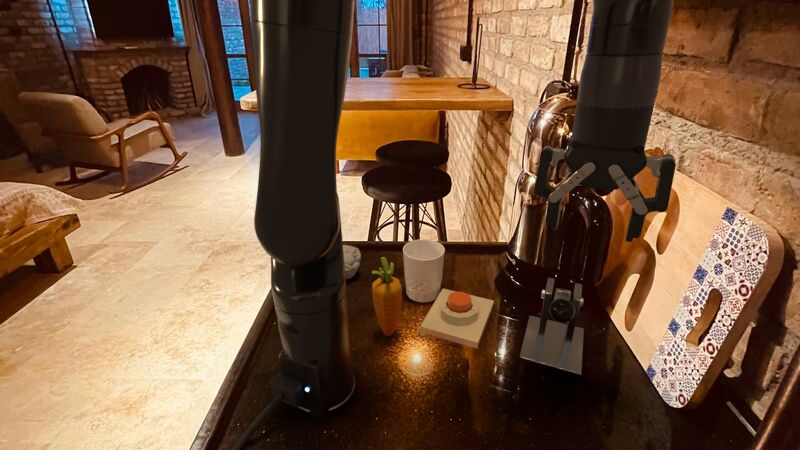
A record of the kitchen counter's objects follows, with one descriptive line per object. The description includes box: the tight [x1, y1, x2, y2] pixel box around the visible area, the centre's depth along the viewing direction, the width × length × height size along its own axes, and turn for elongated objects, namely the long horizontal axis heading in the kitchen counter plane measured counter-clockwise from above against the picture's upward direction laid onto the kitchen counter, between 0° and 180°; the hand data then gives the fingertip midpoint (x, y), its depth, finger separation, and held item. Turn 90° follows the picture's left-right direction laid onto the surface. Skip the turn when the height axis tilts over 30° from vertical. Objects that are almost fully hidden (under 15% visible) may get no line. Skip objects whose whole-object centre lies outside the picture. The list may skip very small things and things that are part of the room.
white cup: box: [402, 238, 446, 304], centre depth 79 cm, size 8×8×10 cm
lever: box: [548, 287, 575, 324], centre depth 58 cm, size 13×3×3 cm, turn 156°
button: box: [448, 291, 471, 313], centre depth 71 cm, size 4×4×2 cm
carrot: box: [371, 256, 403, 337], centre depth 67 cm, size 5×5×15 cm
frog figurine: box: [343, 244, 362, 280], centre depth 85 cm, size 6×7×7 cm
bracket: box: [518, 277, 585, 376], centre depth 64 cm, size 11×9×12 cm
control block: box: [419, 288, 495, 349], centre depth 72 cm, size 12×10×4 cm
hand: (590, 232), depth 51 cm, fingers open, 8 cm apart
